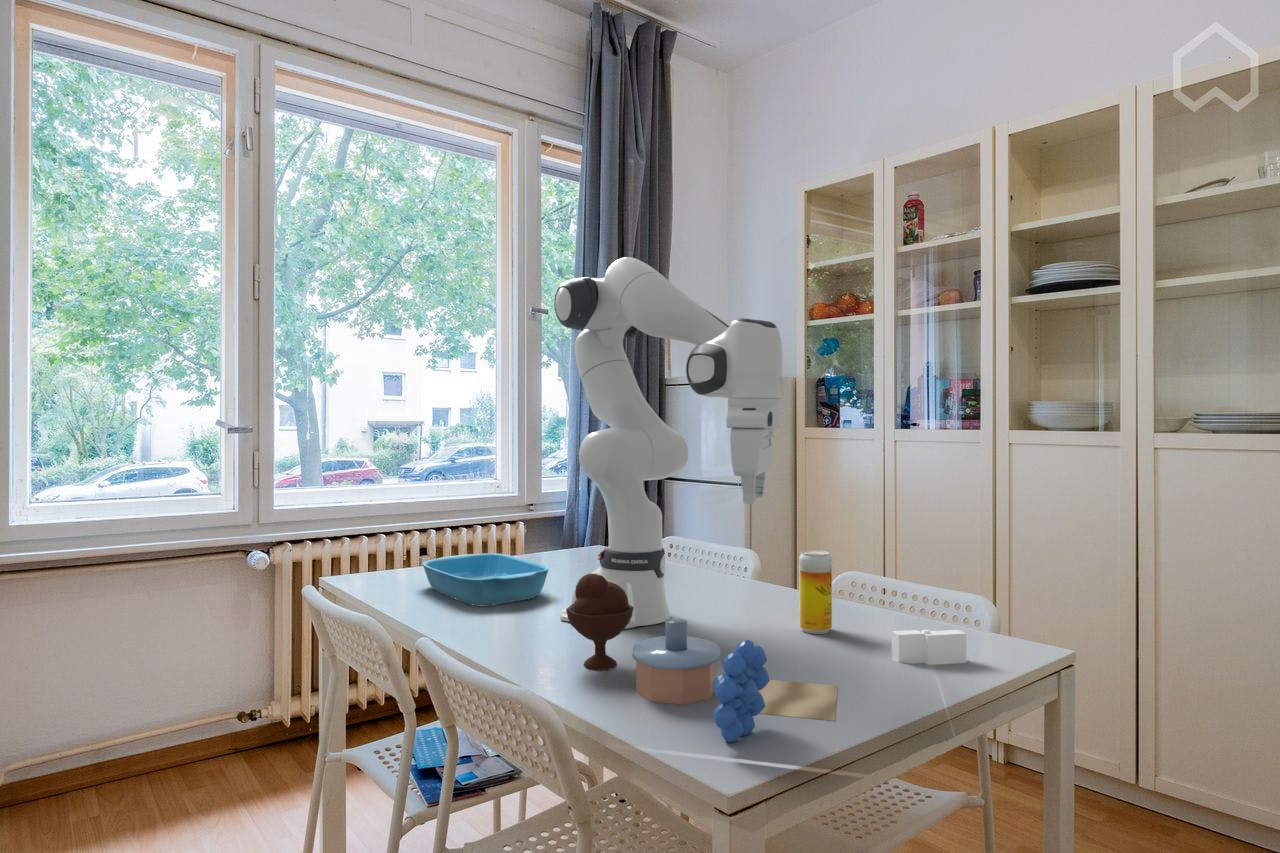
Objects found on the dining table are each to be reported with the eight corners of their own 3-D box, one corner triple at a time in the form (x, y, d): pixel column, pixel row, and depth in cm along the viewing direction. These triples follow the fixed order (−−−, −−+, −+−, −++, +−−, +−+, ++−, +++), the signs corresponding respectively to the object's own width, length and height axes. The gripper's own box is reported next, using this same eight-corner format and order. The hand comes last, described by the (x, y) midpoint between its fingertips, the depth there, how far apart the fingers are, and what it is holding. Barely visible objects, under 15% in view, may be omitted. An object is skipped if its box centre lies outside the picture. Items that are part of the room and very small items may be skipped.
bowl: (629, 701, 109) (629, 663, 109) (650, 676, 120) (650, 641, 120) (705, 709, 106) (705, 669, 106) (719, 683, 117) (719, 647, 117)
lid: (621, 664, 108) (621, 629, 108) (645, 639, 121) (645, 608, 121) (711, 672, 105) (711, 636, 105) (726, 645, 118) (726, 613, 117)
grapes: (735, 714, 104) (735, 627, 104) (780, 726, 100) (780, 635, 100) (688, 743, 95) (688, 647, 95) (735, 757, 91) (735, 657, 91)
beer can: (832, 635, 143) (832, 555, 143) (799, 633, 144) (799, 554, 144) (830, 627, 149) (830, 550, 149) (799, 625, 150) (798, 549, 150)
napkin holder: (976, 660, 129) (976, 627, 129) (970, 680, 119) (969, 644, 119) (885, 648, 136) (885, 616, 136) (872, 666, 126) (871, 631, 126)
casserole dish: (410, 586, 189) (410, 557, 189) (493, 575, 202) (492, 548, 202) (473, 616, 159) (473, 582, 159) (565, 601, 172) (565, 569, 172)
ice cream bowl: (580, 679, 119) (580, 583, 118) (559, 659, 129) (558, 570, 129) (643, 670, 123) (642, 577, 123) (617, 651, 133) (617, 565, 133)
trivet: (729, 713, 105) (729, 710, 105) (744, 680, 118) (744, 677, 118) (834, 723, 101) (834, 720, 101) (837, 688, 114) (837, 685, 114)
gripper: (745, 416, 136) (745, 493, 137) (724, 416, 117) (723, 506, 117) (781, 416, 134) (780, 494, 135) (765, 416, 115) (764, 508, 115)
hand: (753, 500), depth 126 cm, fingers open, 8 cm apart
